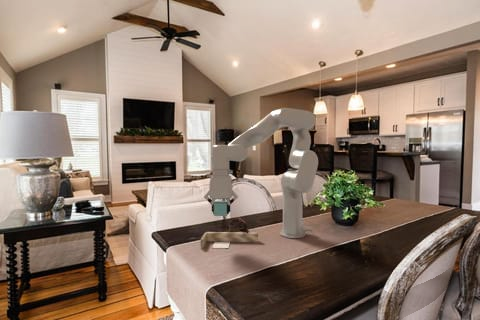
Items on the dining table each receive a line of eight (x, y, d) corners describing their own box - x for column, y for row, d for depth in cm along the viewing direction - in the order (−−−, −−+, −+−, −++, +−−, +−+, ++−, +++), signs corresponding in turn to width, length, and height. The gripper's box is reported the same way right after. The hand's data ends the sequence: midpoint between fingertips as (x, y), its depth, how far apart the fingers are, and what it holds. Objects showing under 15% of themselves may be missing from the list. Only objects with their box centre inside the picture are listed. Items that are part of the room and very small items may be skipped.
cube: (227, 212, 124) (227, 200, 124) (226, 216, 119) (226, 203, 118) (215, 212, 125) (215, 200, 124) (214, 215, 119) (213, 203, 119)
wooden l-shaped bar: (258, 241, 128) (258, 232, 127) (258, 249, 118) (258, 240, 117) (205, 240, 129) (205, 232, 129) (200, 248, 119) (200, 239, 119)
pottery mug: (250, 235, 137) (242, 222, 135) (233, 242, 139) (225, 230, 136) (250, 222, 148) (242, 210, 146) (234, 229, 150) (227, 217, 148)
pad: (229, 242, 126) (229, 242, 126) (228, 248, 119) (228, 247, 119) (214, 242, 126) (214, 241, 126) (212, 248, 119) (212, 247, 119)
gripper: (240, 172, 124) (240, 211, 125) (203, 172, 125) (203, 211, 126) (239, 173, 116) (239, 216, 117) (199, 173, 117) (200, 215, 118)
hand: (221, 213), depth 122 cm, fingers closed on cube, 5 cm apart
